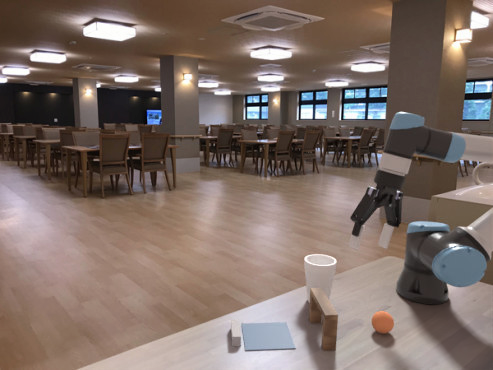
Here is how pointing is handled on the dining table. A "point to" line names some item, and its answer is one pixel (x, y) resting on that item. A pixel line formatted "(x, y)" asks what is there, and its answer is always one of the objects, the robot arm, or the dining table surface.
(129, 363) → the dining table surface
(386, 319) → the ball
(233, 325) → the beige rectangular bar
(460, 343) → the dining table surface
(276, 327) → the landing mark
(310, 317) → the bridge
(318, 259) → the foam cup
